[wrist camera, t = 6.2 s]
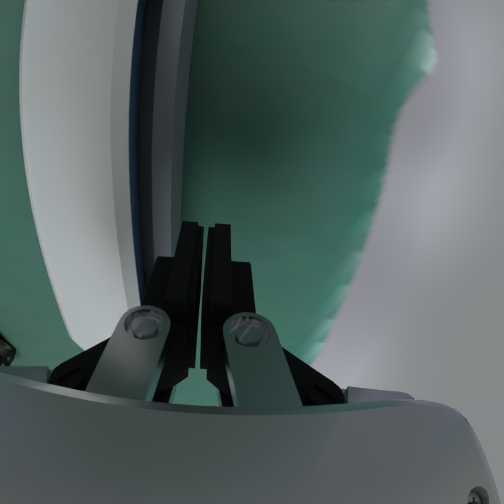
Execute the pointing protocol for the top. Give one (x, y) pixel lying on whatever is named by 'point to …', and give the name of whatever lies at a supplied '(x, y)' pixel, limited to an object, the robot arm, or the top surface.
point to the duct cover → (80, 156)
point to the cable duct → (158, 128)
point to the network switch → (6, 353)
